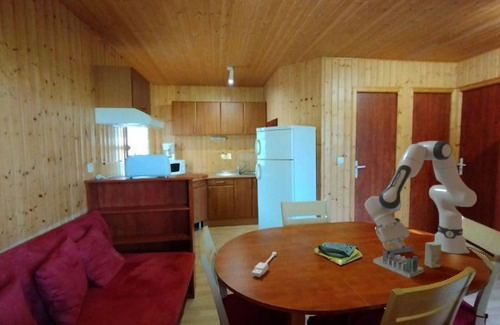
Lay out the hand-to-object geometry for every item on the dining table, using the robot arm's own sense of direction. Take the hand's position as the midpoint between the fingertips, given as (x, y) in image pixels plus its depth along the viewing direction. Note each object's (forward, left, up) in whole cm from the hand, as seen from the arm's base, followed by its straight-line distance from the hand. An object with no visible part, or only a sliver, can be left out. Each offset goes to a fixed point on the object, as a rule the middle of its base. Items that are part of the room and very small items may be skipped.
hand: (402, 247), depth 138 cm
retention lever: (-3, -7, -5) cm, 9 cm away
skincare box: (-14, +12, -12) cm, 22 cm away
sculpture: (-24, -9, -12) cm, 28 cm away
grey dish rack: (-1, -3, -12) cm, 12 cm away
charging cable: (+38, -60, -12) cm, 72 cm away
